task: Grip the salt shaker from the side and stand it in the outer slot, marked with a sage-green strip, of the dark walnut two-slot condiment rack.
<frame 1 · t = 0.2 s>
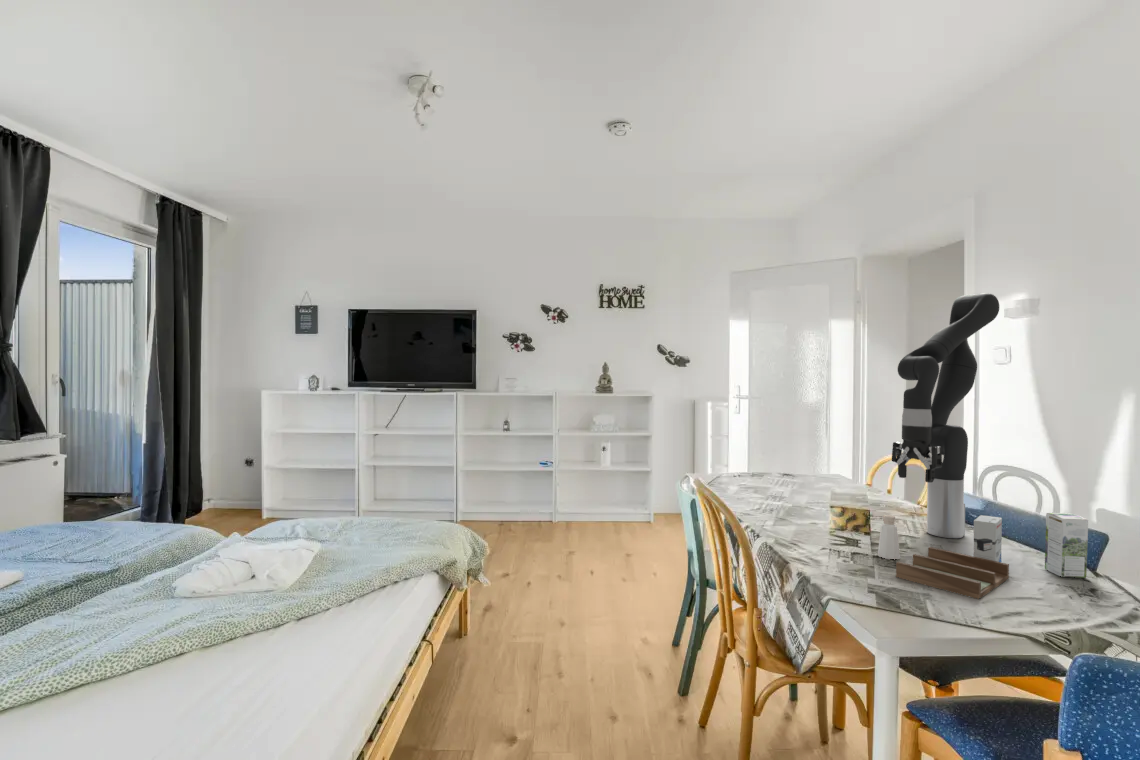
hand: (915, 479, 168), 18 cm above the table, tool pointing down, fingers open, 8 cm apart
syrup box: (1065, 574, 140), on the table
ink box: (987, 565, 148), on the table
condiment rack: (952, 577, 138), on the table
salt shaker: (888, 557, 154), on the table
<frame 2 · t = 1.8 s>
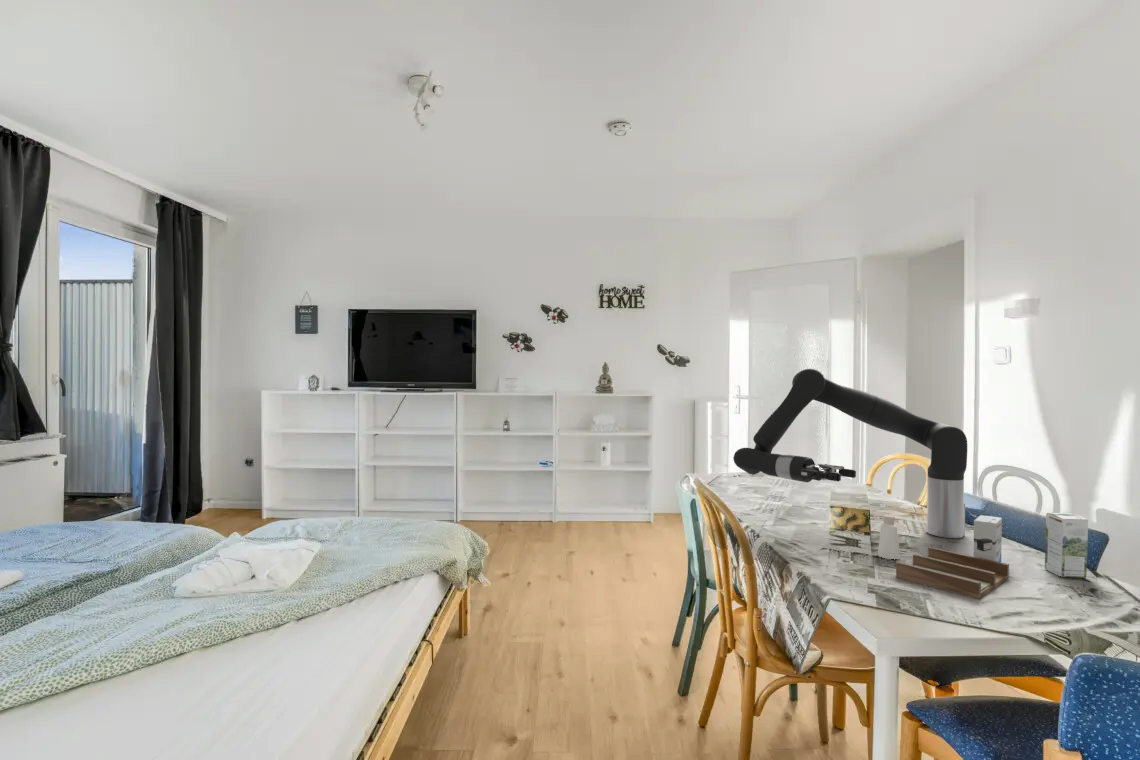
hand: (847, 475, 162), 20 cm above the table, tool horizontal, fingers open, 8 cm apart
nothing on the table moved.
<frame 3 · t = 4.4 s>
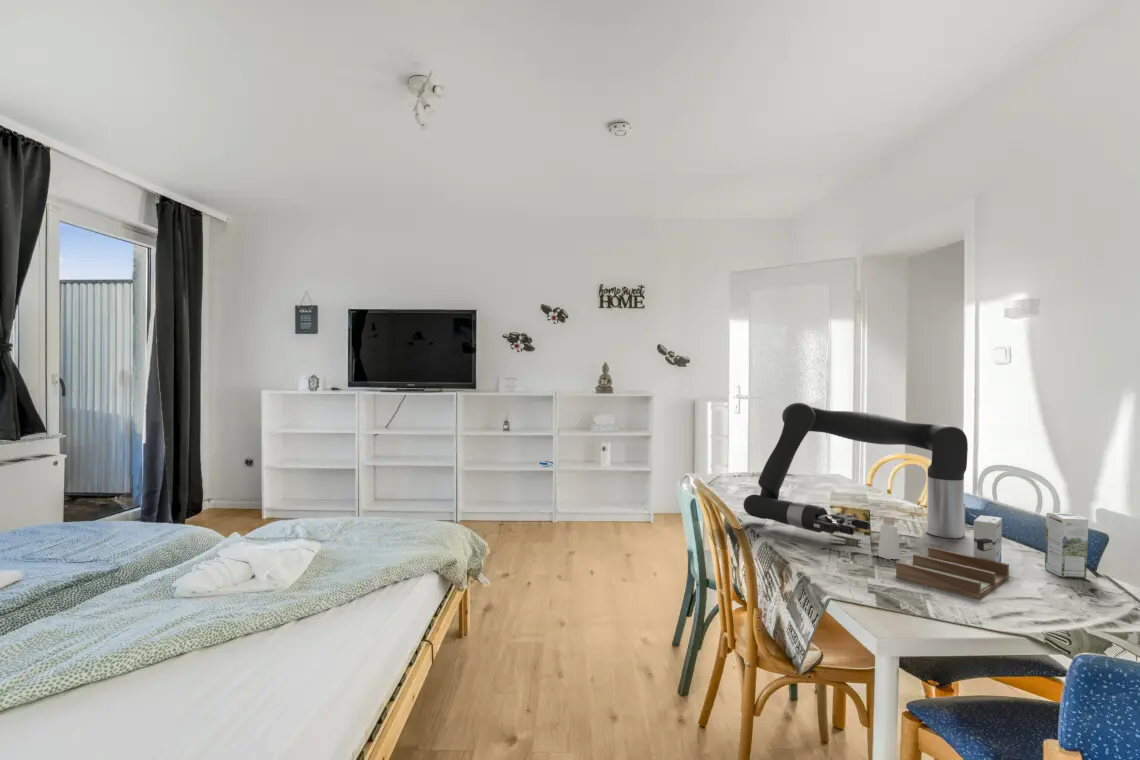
hand: (861, 528, 159), 6 cm above the table, tool horizontal, fingers open, 8 cm apart
nothing on the table moved.
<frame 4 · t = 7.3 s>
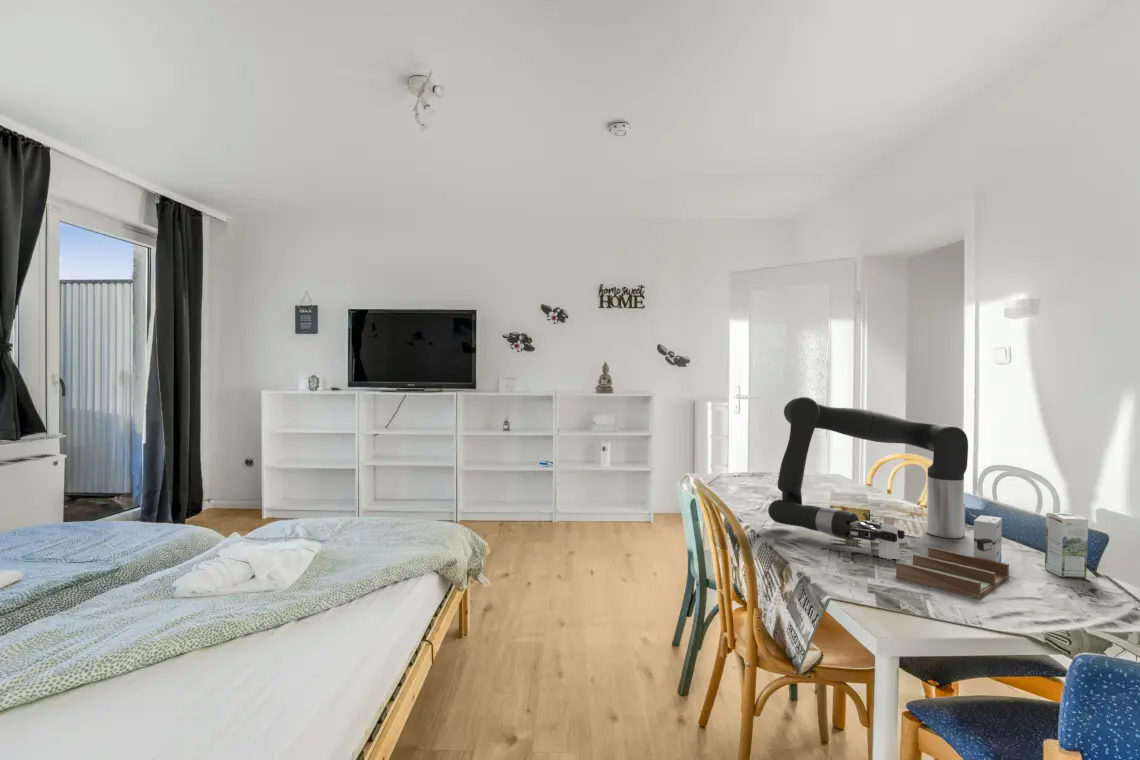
hand: (900, 536, 151), 6 cm above the table, tool horizontal, fingers closed on salt shaker, 4 cm apart
salt shaker: (888, 557, 154), on the table, touching gripper
everything else where it was.
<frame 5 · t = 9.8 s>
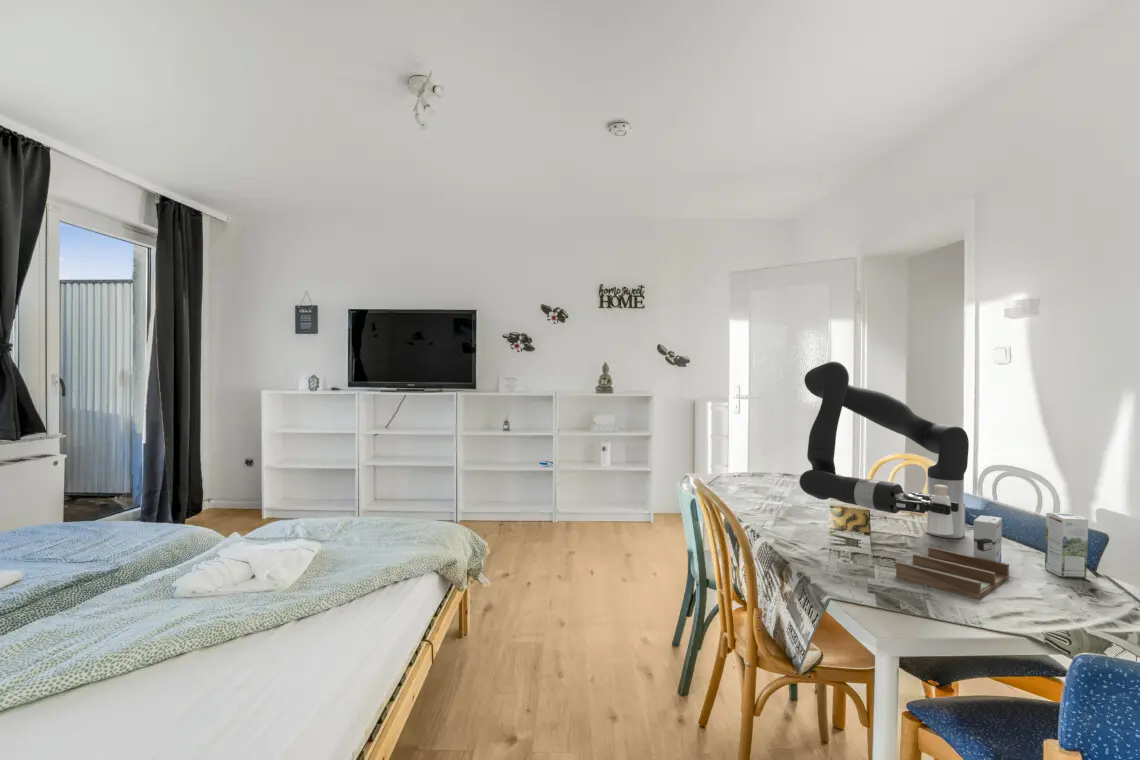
hand: (954, 508, 133), 18 cm above the table, tool horizontal, fingers closed on salt shaker, 4 cm apart
salt shaker: (939, 532, 136), point 11 cm above the table, touching gripper
everything else where it was.
when the fingers open (8 cm above the table, at t = 12.4 s): salt shaker drops 1 cm, resting on condiment rack.
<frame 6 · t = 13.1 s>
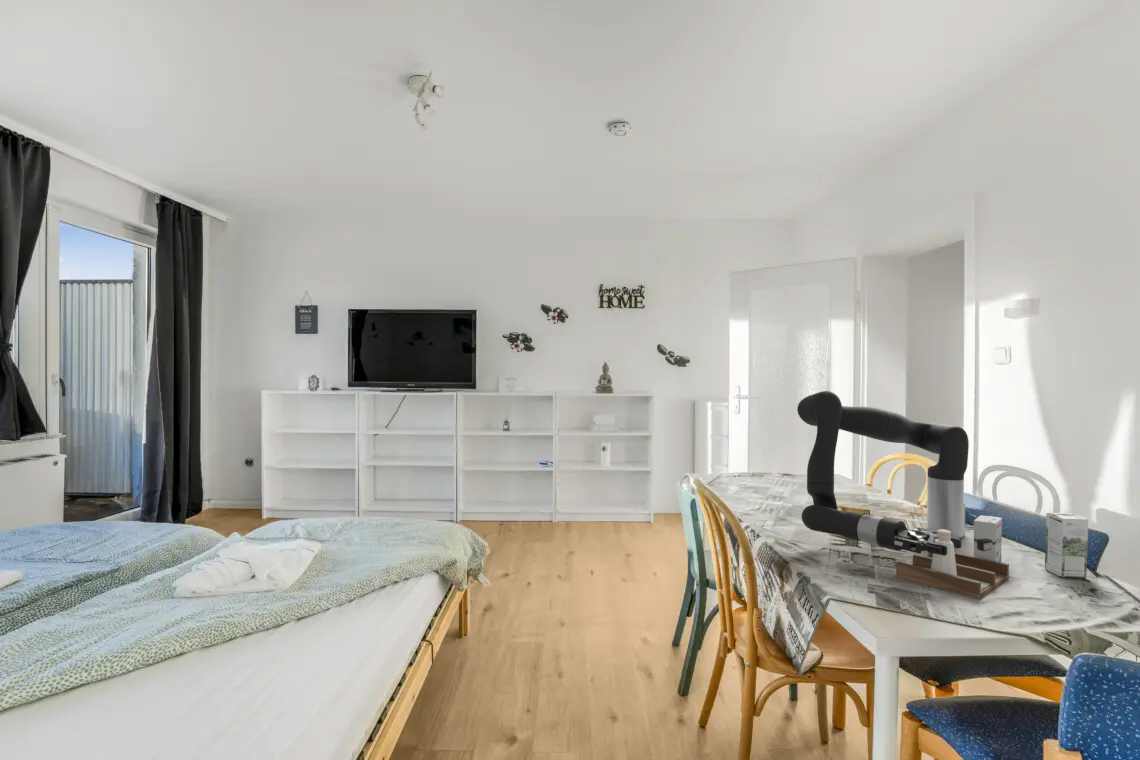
hand: (954, 547, 133), 9 cm above the table, tool horizontal, fingers open, 8 cm apart
salt shaker: (943, 577, 135), point 1 cm above the table, touching condiment rack
everything else where it was.
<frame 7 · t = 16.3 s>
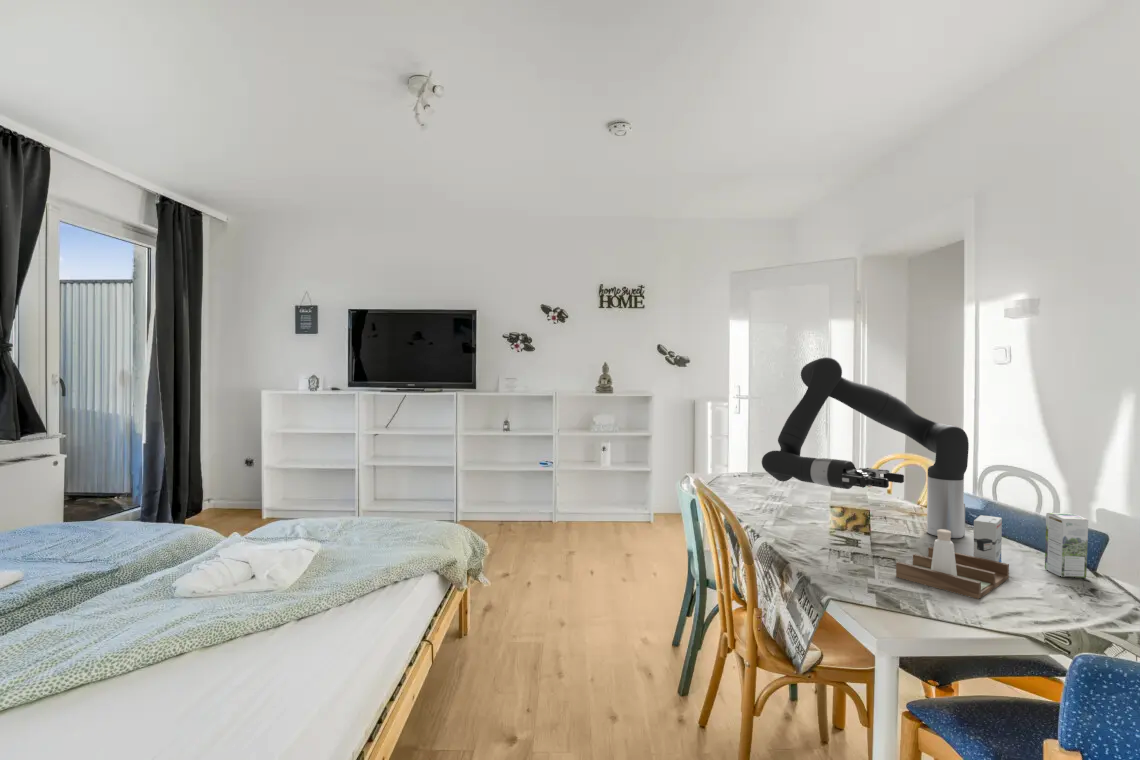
hand: (895, 481, 143), 22 cm above the table, tool horizontal, fingers open, 8 cm apart
nothing on the table moved.
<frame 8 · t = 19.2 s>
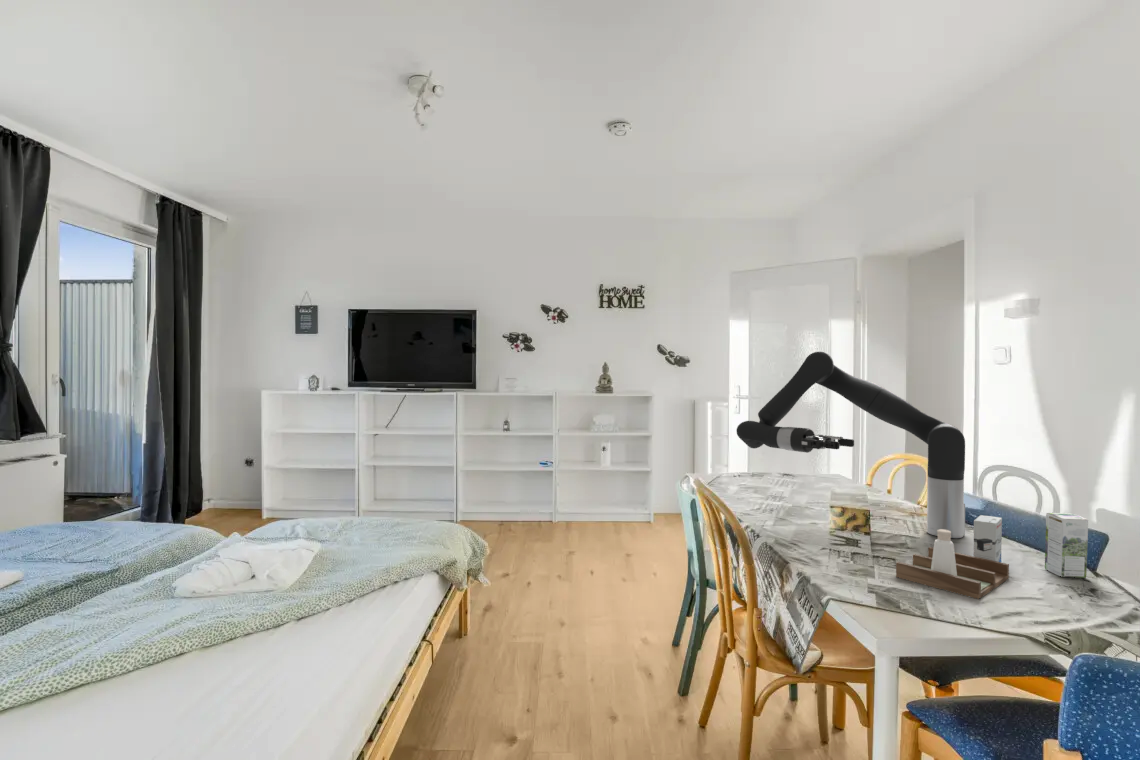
hand: (846, 444, 169), 28 cm above the table, tool horizontal, fingers open, 8 cm apart
nothing on the table moved.
at the end: salt shaker inside the target area on the condiment rack (0.2 cm from its centre), point 1.0 cm above the condiment rack's base; salt shaker tilted 0°; the gripper is holding nothing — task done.
